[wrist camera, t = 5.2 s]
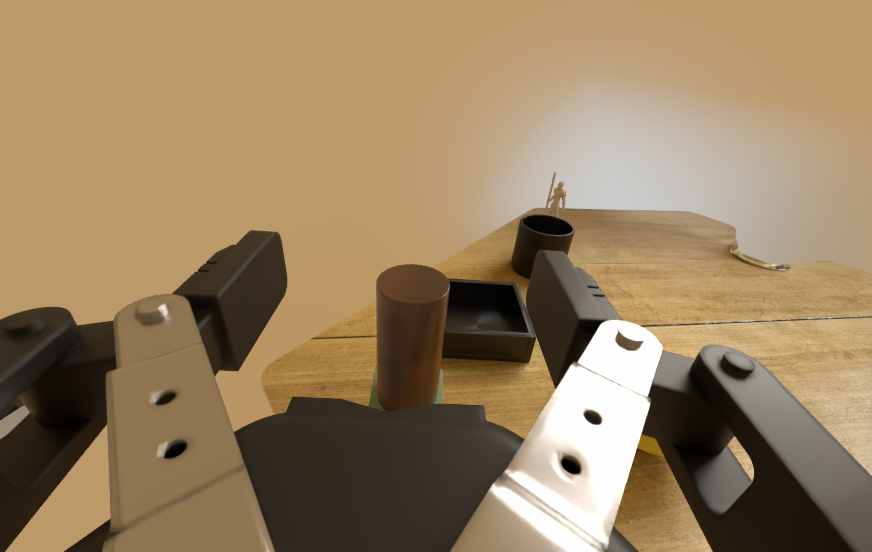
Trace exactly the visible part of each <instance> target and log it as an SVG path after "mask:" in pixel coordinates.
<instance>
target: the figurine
mask: <svg viewBox="0 0 872 552" xmlns="http://www.w3.org/2000/svg"><path fill="white" fill-rule="evenodd" d="M555 176H556V172H555V173H554V175H553V180H552V184H551V188H550V192H549V196H548V200H547V204H546V208H545V212H544V215H546V212H547V208H548V204H549V202H550V201H551V200H552V199H554V200H553V202H552V204H551V207H550V209H549V213H548V216H551V212H553V211H555V217H557V218H558V210H560V206H559V201H560V198H561V197H562V200H563V202H562V205H563V207H562V210H565V207H564V206H565V196H566V191H565V190H564V189H562V187H563V185H564V183H563V182H559V184H558V187H557V188H555V189H554V193H555V194H554V196H552V198H551V199H550V196H551V192H552V188H553V183H554V180H555Z"/></svg>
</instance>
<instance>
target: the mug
mask: <svg viewBox="0 0 872 552" xmlns="http://www.w3.org/2000/svg"><path fill="white" fill-rule="evenodd" d="M574 231H575V230H574V227H573V226H572V225H571V224H570V223H568V222H567V221H565V220H562V219H560V218H557V217H553V216H548V215H540V214H533V215H527V216H524V217H522V218H521V220H520V224H519V228H518V233H517V238H516V243H515V247H514V252H513V257H512V262H511V264H512V267H513V269H514V270H515V271H516V272H517V273H519V274H520V275H522V276H524V277H527V278H529V279H530V277H531V273H532V269H533V265H534V261H535V257H536V254H537V252H538V251H539V250H550V251H563V252H565V253H566V255H568V251H569V248H570V245H571V241H572V238H573V235H574Z"/></svg>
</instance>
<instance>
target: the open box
mask: <svg viewBox="0 0 872 552" xmlns="http://www.w3.org/2000/svg"><path fill="white" fill-rule="evenodd" d="M447 279H448V280H449V283H450V291H449V299H448V308H447V317H446V325H445V334H444V342H443V351H442V358H457V359H475V360H493V361H511V362H529V361H530V358H531V354H532V351H533V347H534V344H535V340H536V335H535V332H534V329H533V327H532V324H531V321H530V318H529V315H528V313H527V310H526V307H525V304H524V301H523V298H522V296H521V293H520V290H519V287H518V284H517V283H511V282H495V281H480V280H464V279H449V278H447Z"/></svg>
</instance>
